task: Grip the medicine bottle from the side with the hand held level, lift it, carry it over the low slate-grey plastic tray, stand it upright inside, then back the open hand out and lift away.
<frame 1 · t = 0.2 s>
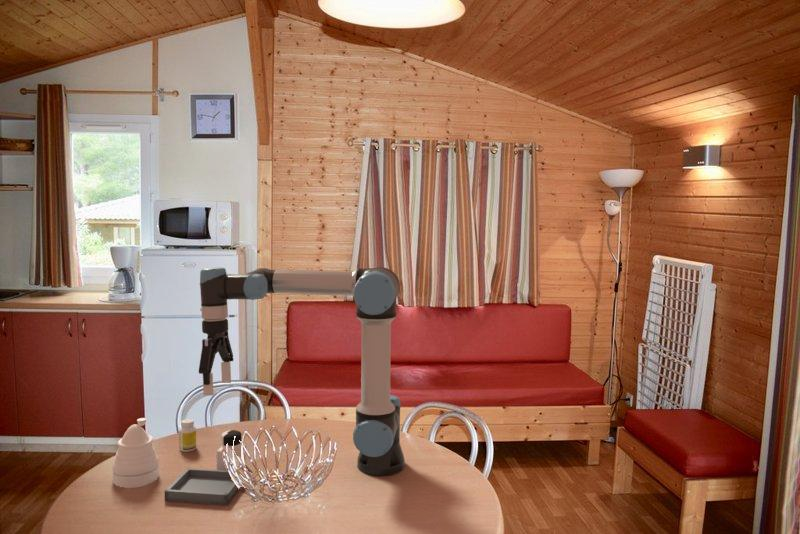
hand: (217, 388, 190), 27 cm above the table, tool pointing down, fingers open, 13 cm apart
honey pot: (136, 478, 189), on the table
medicine bottle: (231, 469, 197), on the table
tray: (206, 490, 182), on the table
supplement bottle: (187, 449, 211), on the table
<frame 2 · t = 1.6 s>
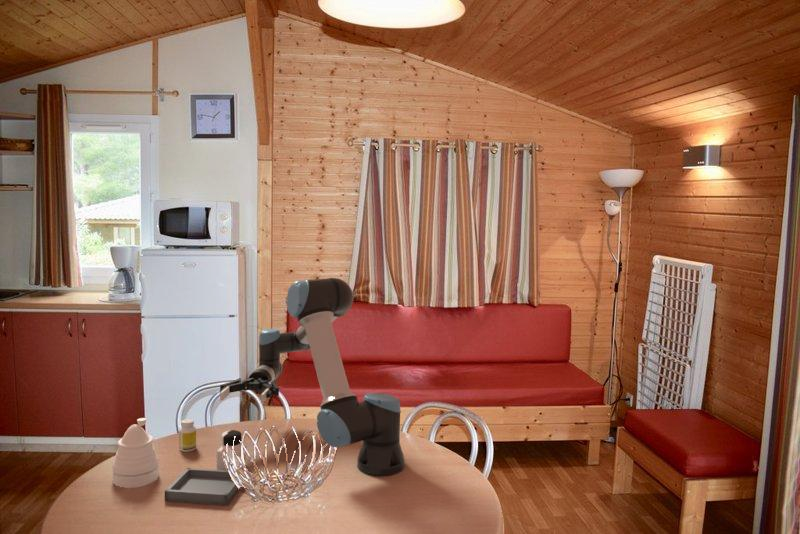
hand: (241, 397, 204), 20 cm above the table, tool horizontal, fingers open, 13 cm apart
nothing on the table moved.
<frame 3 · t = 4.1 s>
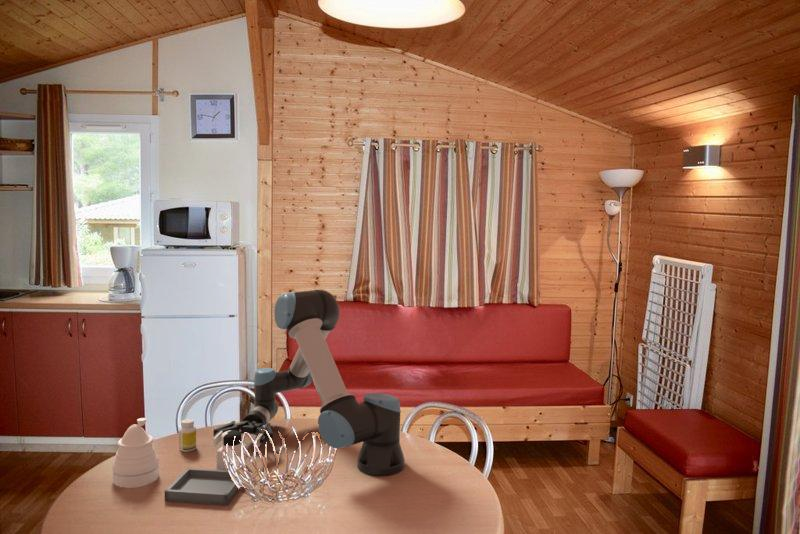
hand: (234, 443, 200), 6 cm above the table, tool horizontal, fingers open, 13 cm apart
nothing on the table moved.
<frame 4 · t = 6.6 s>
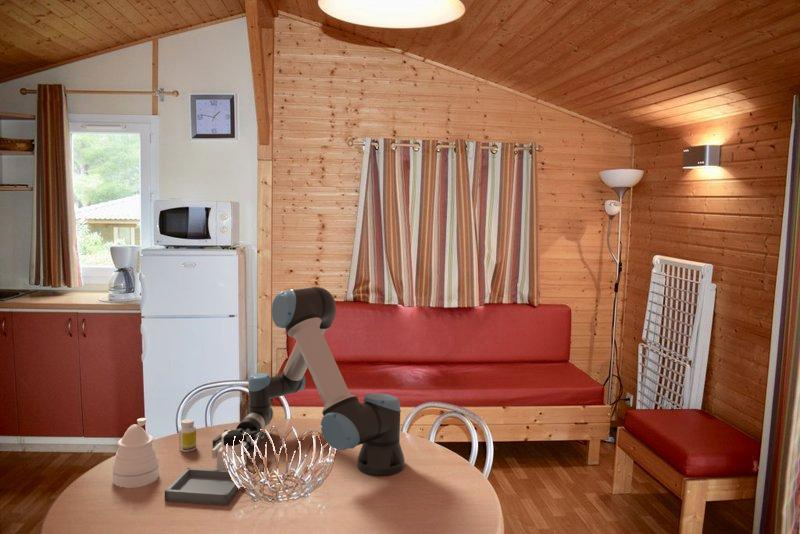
hand: (225, 455, 191), 7 cm above the table, tool horizontal, fingers closed on medicine bottle, 7 cm apart
medicine bottle: (231, 469, 197), on the table, touching gripper
everything else where it was.
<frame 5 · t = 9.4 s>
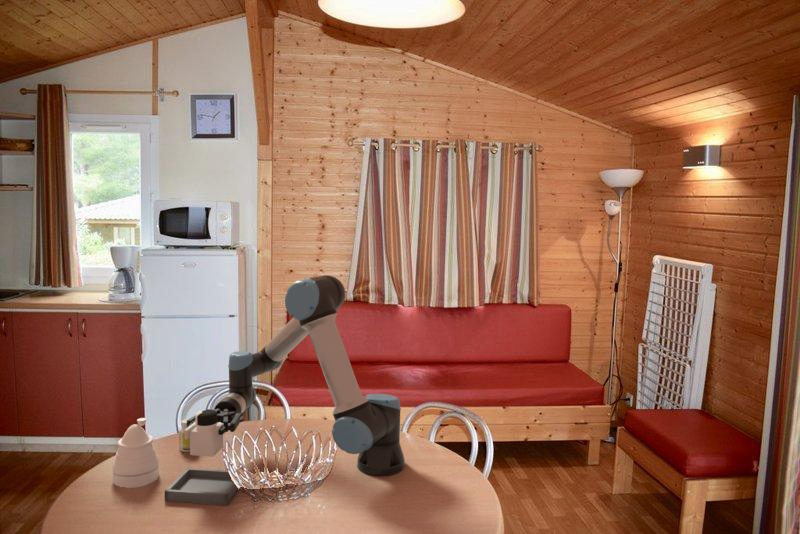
hand: (199, 435, 176), 18 cm above the table, tool horizontal, fingers closed on medicine bottle, 7 cm apart
medicine bottle: (206, 452, 182), point 11 cm above the table, touching gripper
everything else where it was.
when the fingers open (9 cm above the table, at t = 12.6 s): medicine bottle stays where it is, resting on tray.
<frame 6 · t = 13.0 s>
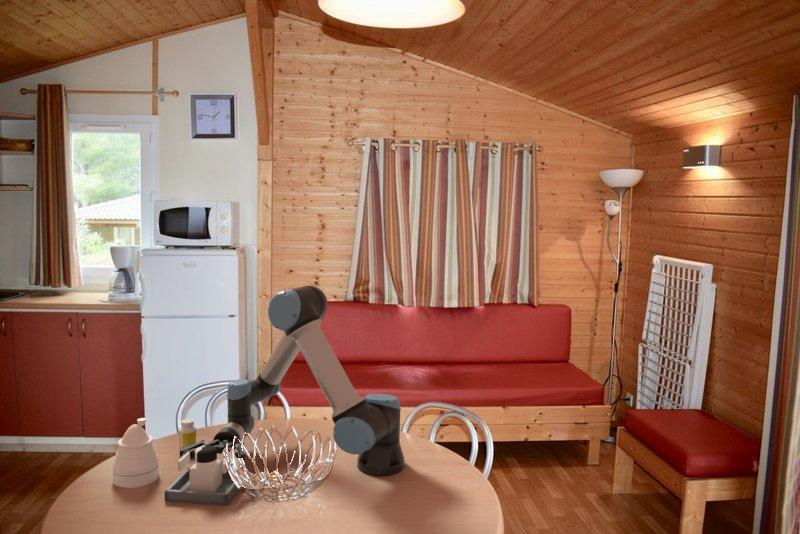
hand: (201, 467, 177), 9 cm above the table, tool horizontal, fingers open, 12 cm apart
medicine bottle: (206, 488, 182), point 1 cm above the table, touching tray
everything else where it was.
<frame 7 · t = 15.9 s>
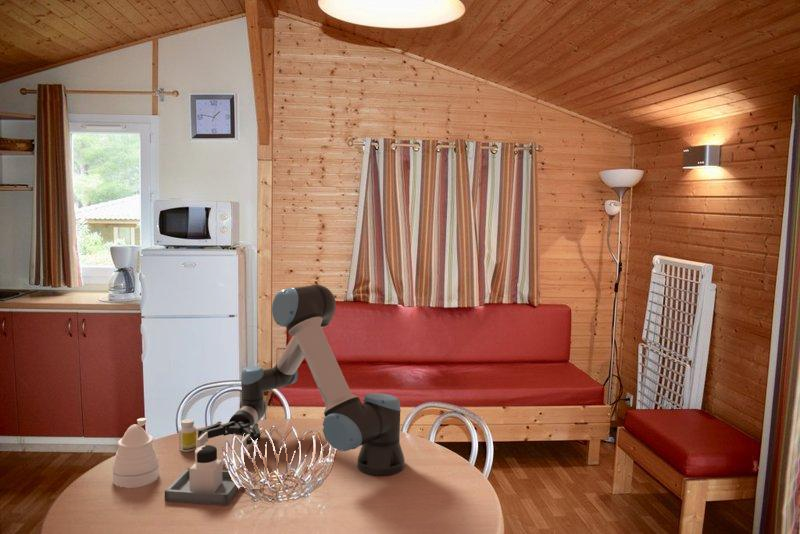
hand: (219, 445, 191), 10 cm above the table, tool horizontal, fingers open, 13 cm apart
nothing on the table moved.
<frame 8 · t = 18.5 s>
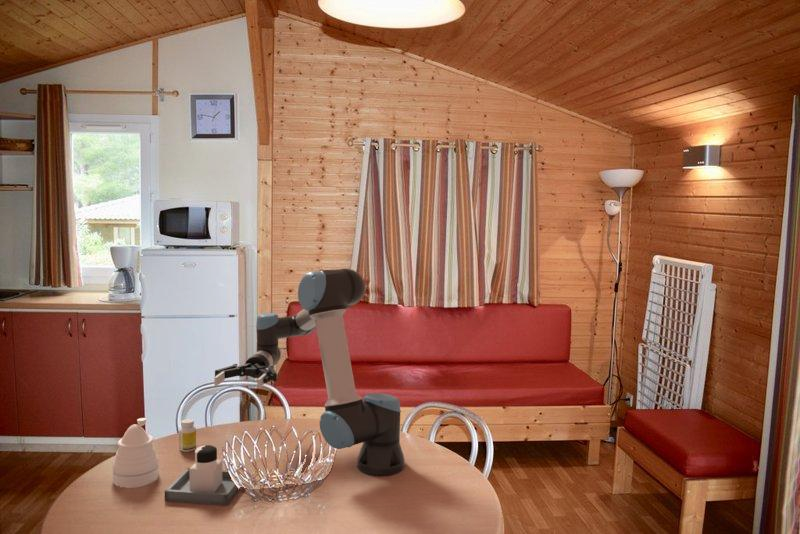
hand: (237, 382, 193), 28 cm above the table, tool horizontal, fingers open, 13 cm apart
nothing on the table moved.
at the end: medicine bottle inside the target area on the tray (0.1 cm from its centre), point 0.8 cm above the tray's base; medicine bottle tilted 0°; the gripper is holding nothing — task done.
